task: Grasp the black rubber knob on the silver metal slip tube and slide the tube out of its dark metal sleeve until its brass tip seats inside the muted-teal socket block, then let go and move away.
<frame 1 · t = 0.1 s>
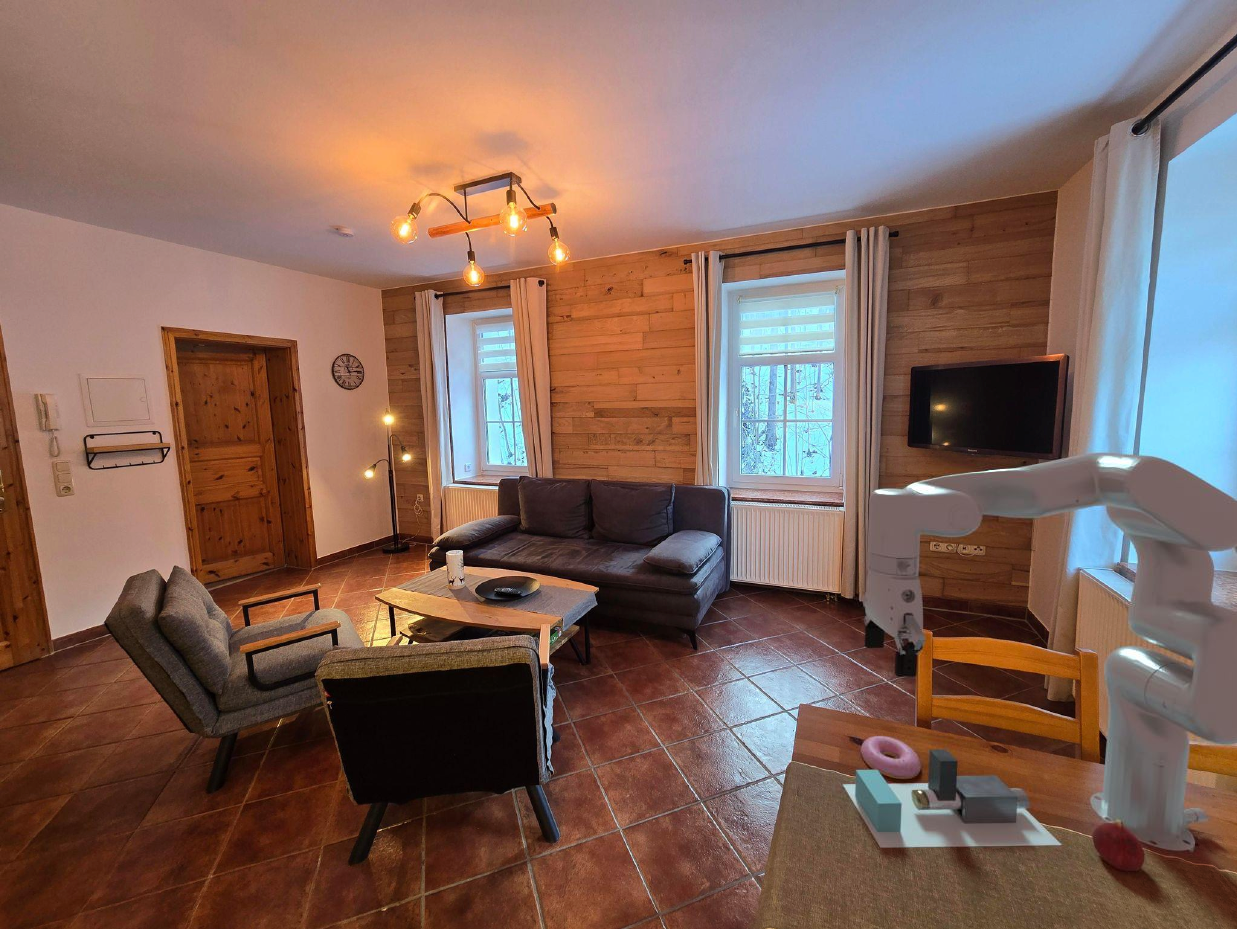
hand: (888, 660, 83), 31 cm above the table, tool pointing down, fingers open, 9 cm apart
slip tube: (970, 780, 87), point 7 cm above the table, slide at 0.0 cm
base board: (943, 818, 88), on the table
sleeve: (979, 811, 88), resting on base board
onion: (1116, 869, 78), on the table
socket: (876, 813, 88), resting on base board
doughnut: (889, 767, 102), on the table
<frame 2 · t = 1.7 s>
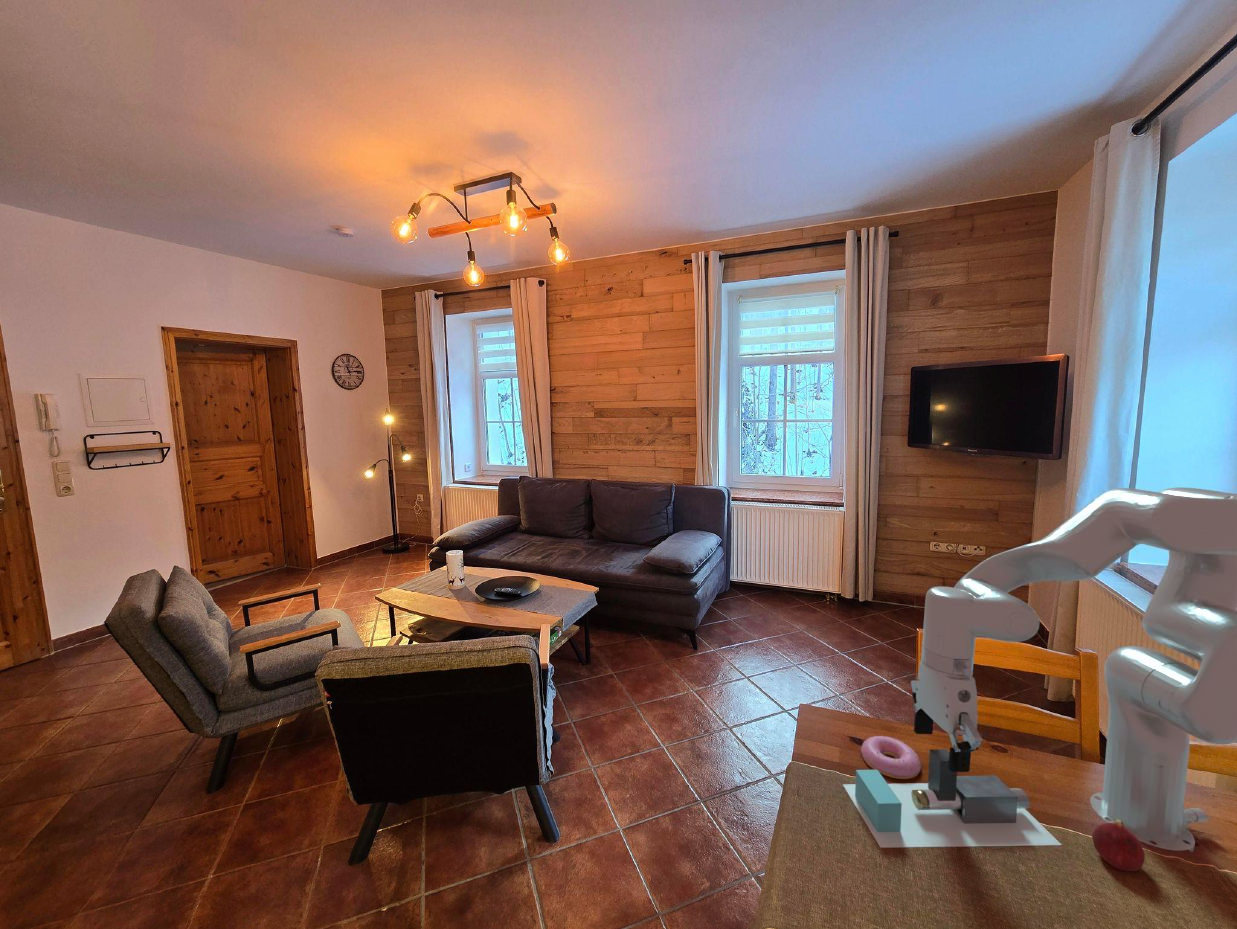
hand: (939, 750, 87), 13 cm above the table, tool pointing down, fingers open, 9 cm apart
nothing on the table moved.
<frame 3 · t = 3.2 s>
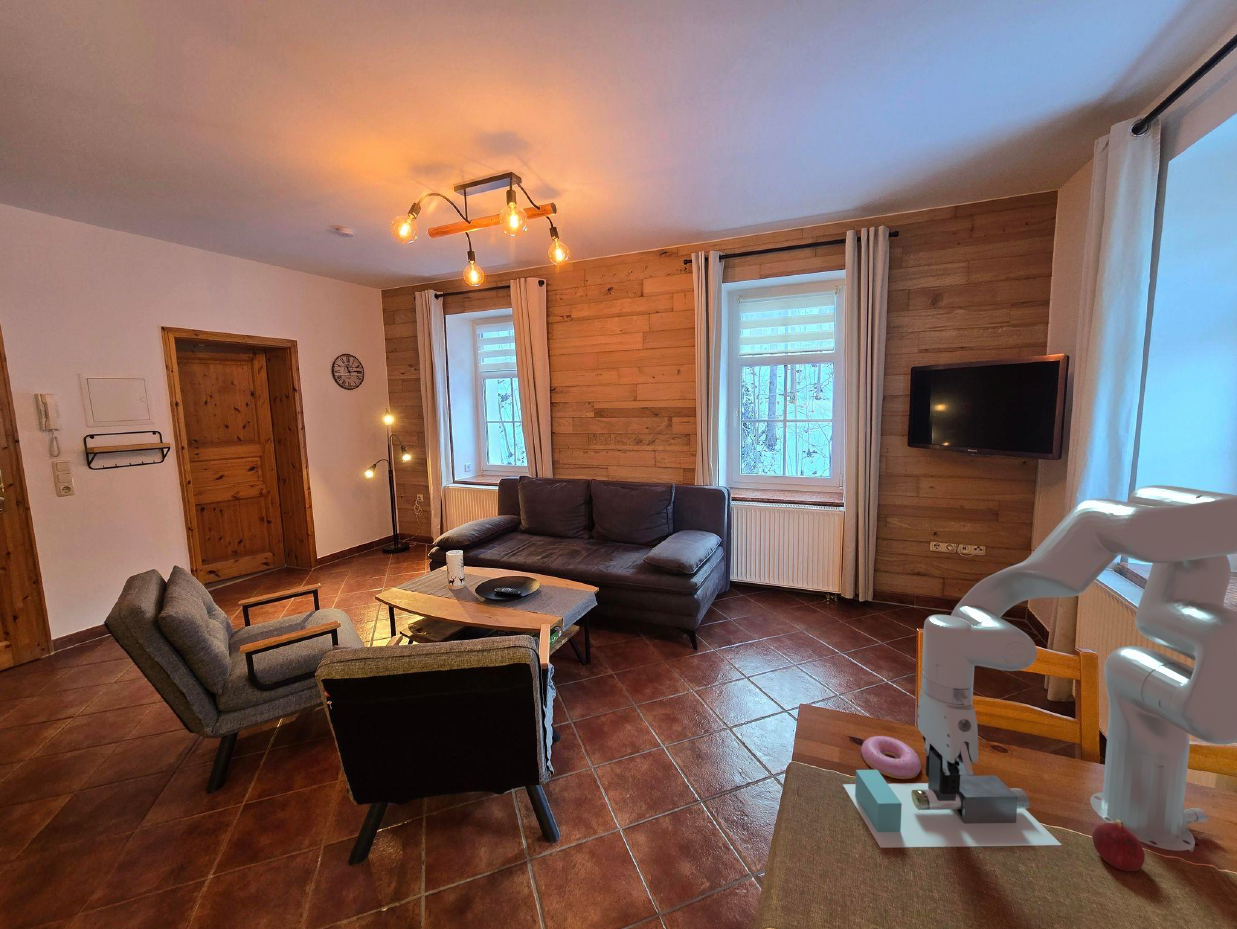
hand: (942, 783, 88), 7 cm above the table, tool pointing down, fingers closed on slip tube, 3 cm apart
slip tube: (970, 780, 87), point 7 cm above the table, slide at 0.0 cm, touching gripper
everything else where it was.
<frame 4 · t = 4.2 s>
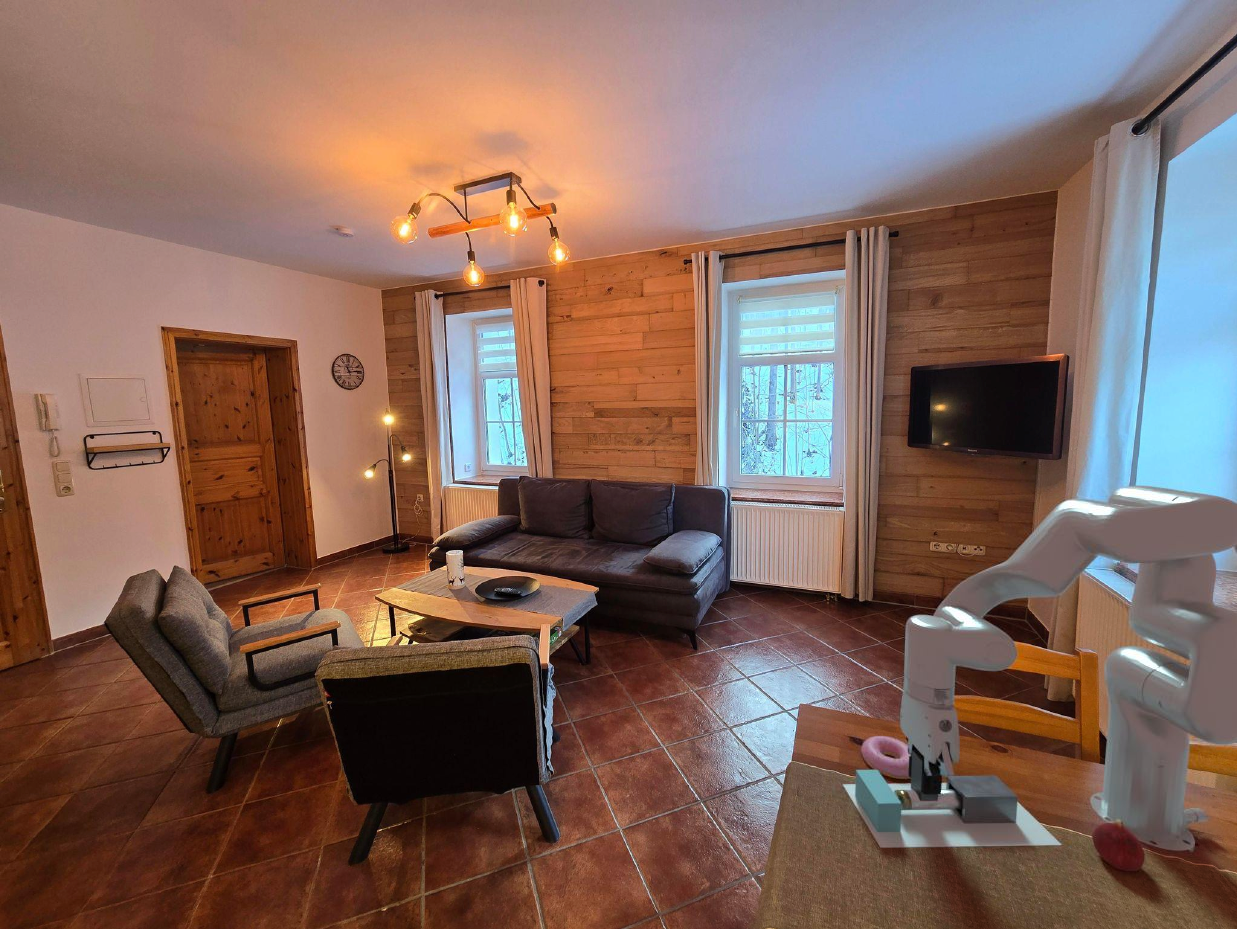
hand: (924, 784, 88), 7 cm above the table, tool pointing down, fingers closed on slip tube, 3 cm apart
slip tube: (952, 781, 87), point 7 cm above the table, slide at 3.2 cm, touching gripper
everything else where it was.
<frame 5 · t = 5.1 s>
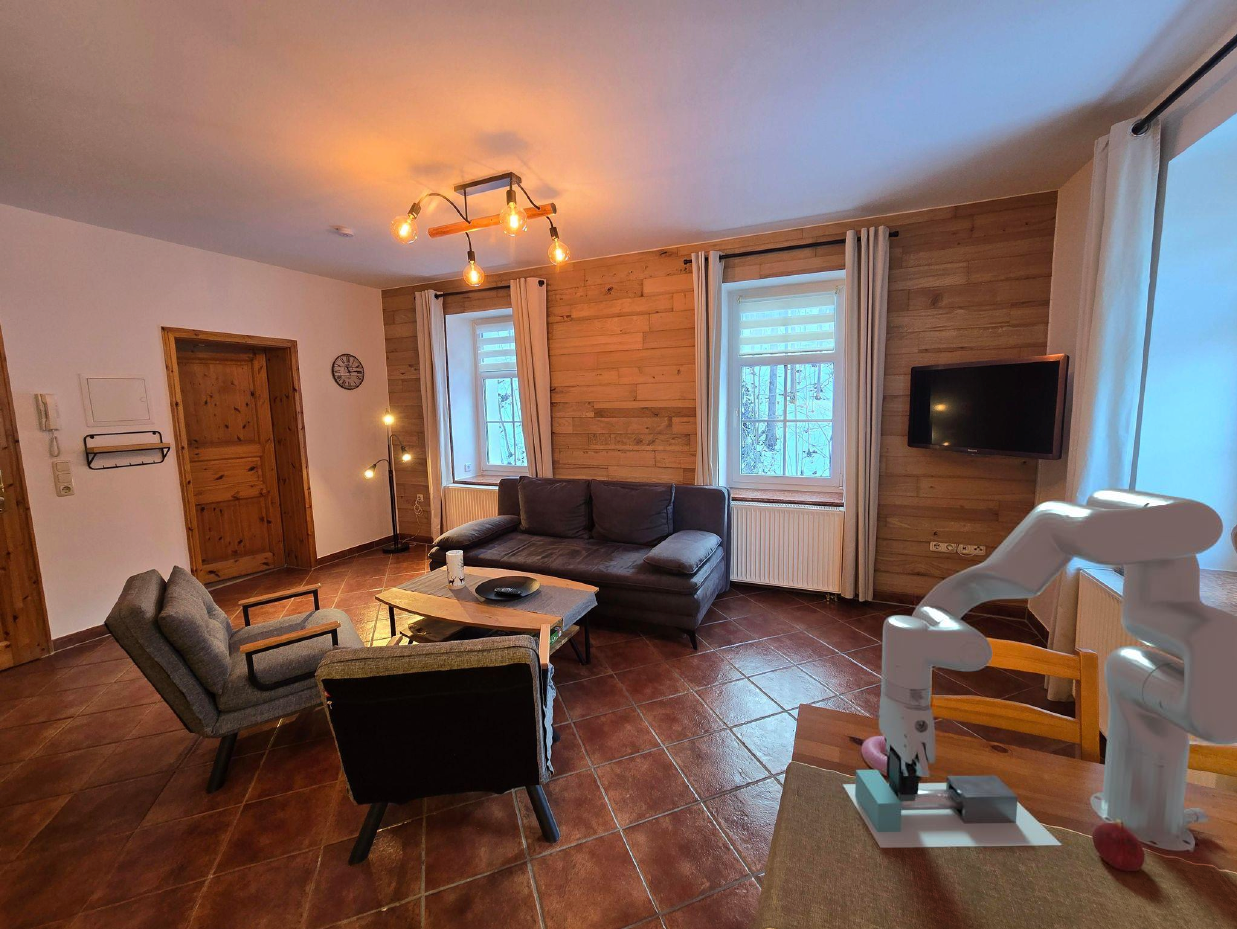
hand: (901, 784, 88), 7 cm above the table, tool pointing down, fingers closed on slip tube, 3 cm apart
slip tube: (930, 781, 88), point 7 cm above the table, slide at 7.2 cm, touching gripper
everything else where it was.
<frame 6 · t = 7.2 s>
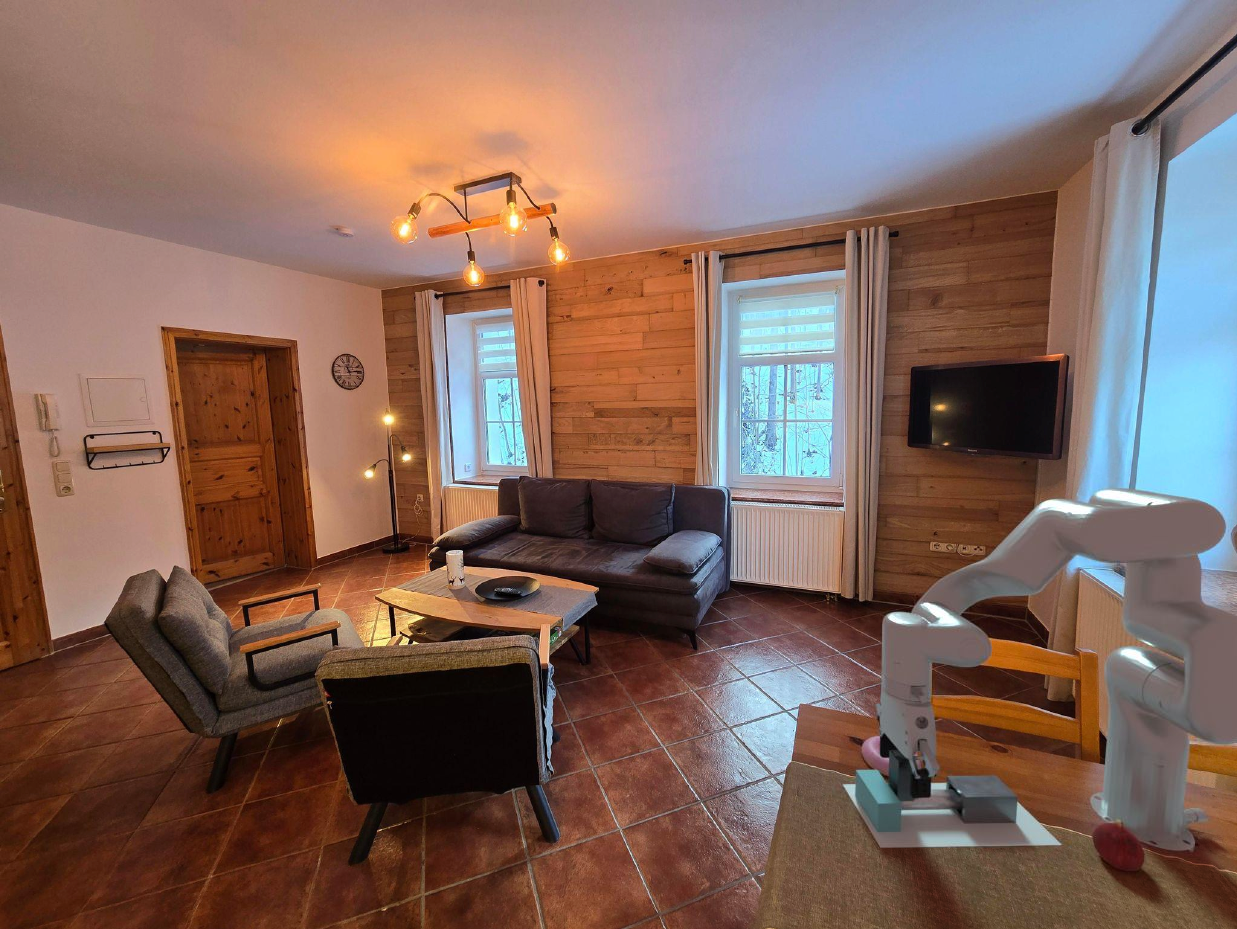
hand: (903, 775, 87), 8 cm above the table, tool pointing down, fingers open, 9 cm apart
slip tube: (929, 781, 88), point 7 cm above the table, slide at 7.3 cm
everything else where it was.
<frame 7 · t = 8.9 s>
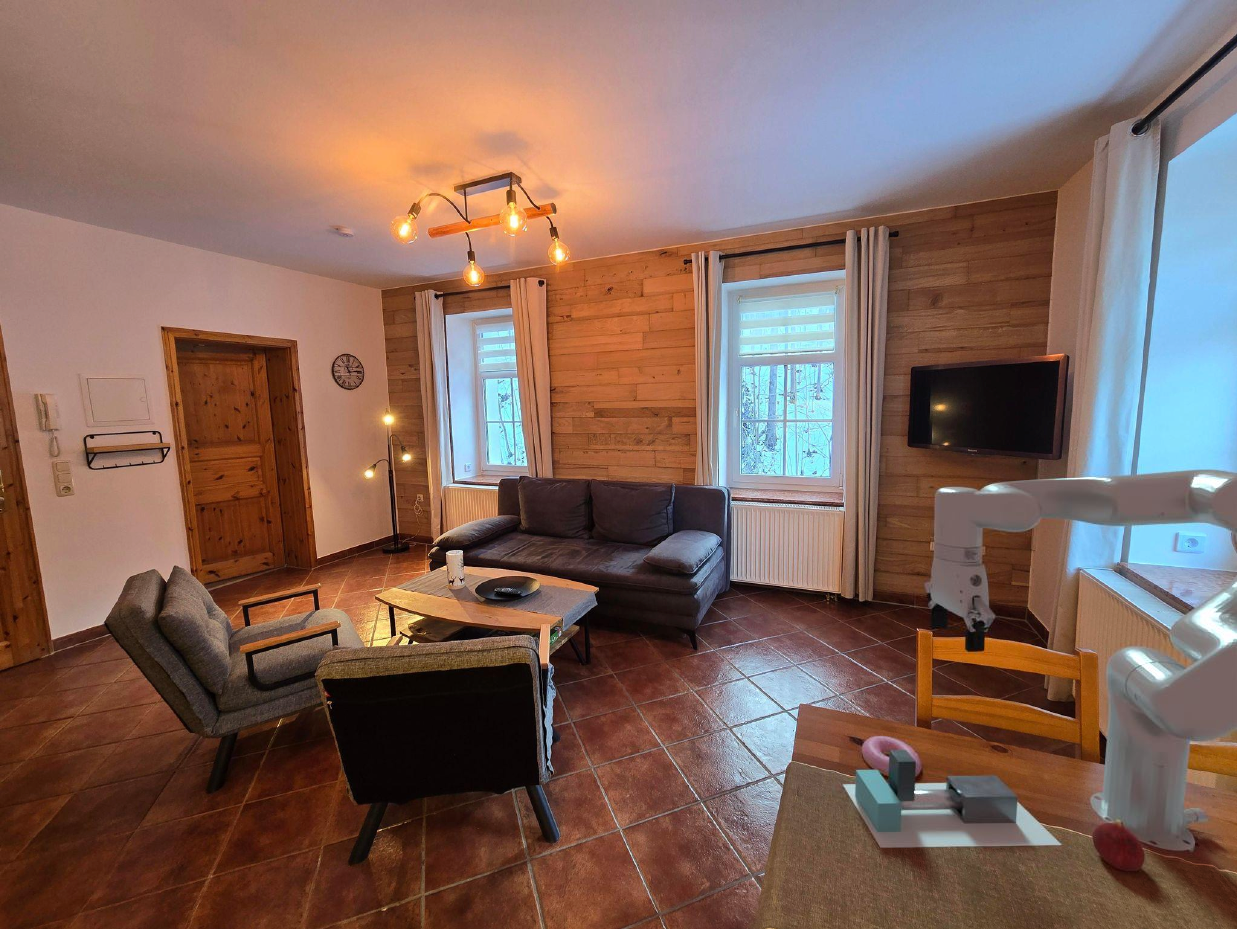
hand: (955, 639, 94), 29 cm above the table, tool pointing down, fingers open, 9 cm apart
nothing on the table moved.
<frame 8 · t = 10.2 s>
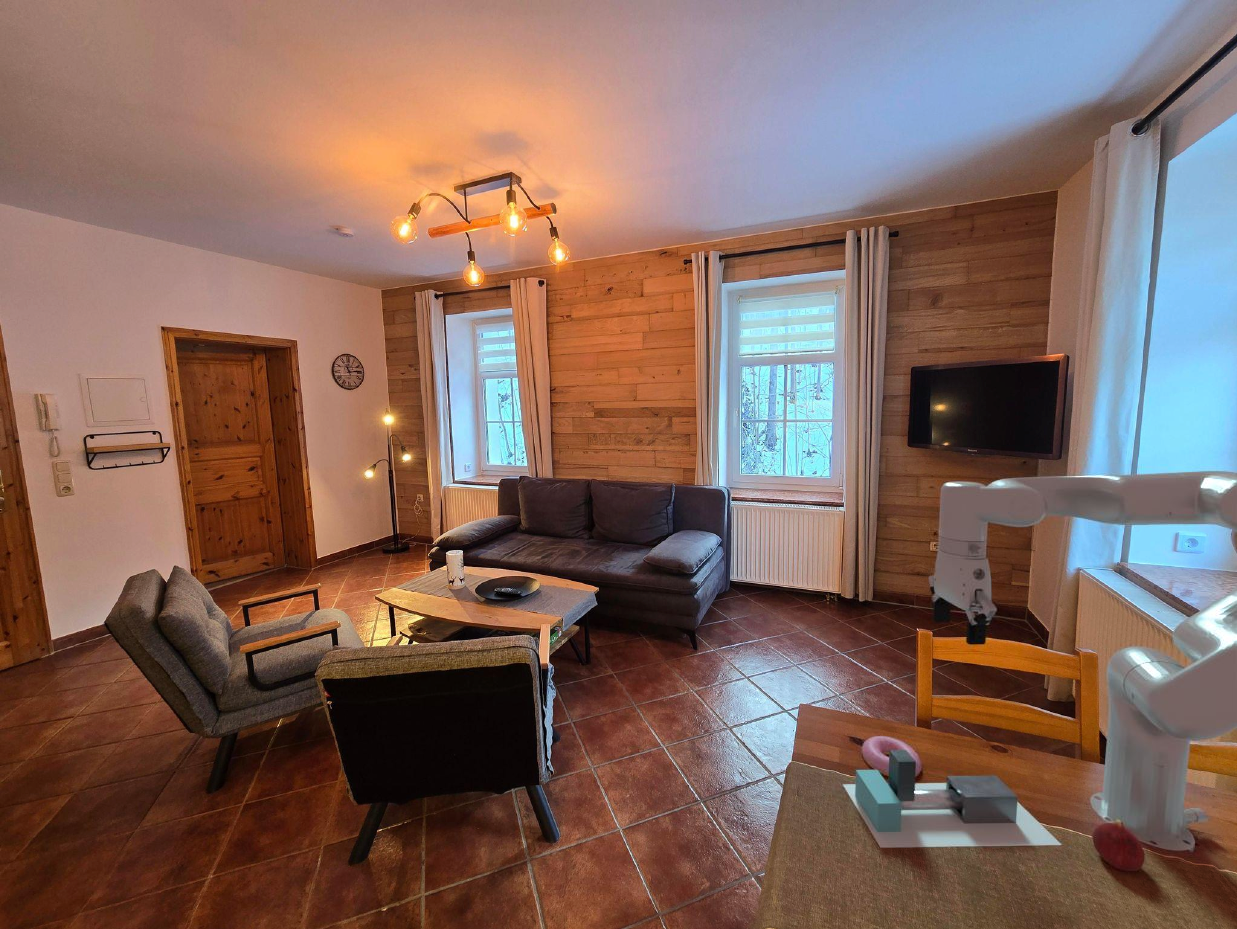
hand: (957, 632, 95), 30 cm above the table, tool pointing down, fingers open, 9 cm apart
nothing on the table moved.
at the end: slip tube slide at 7.3 cm; the gripper is holding nothing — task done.
